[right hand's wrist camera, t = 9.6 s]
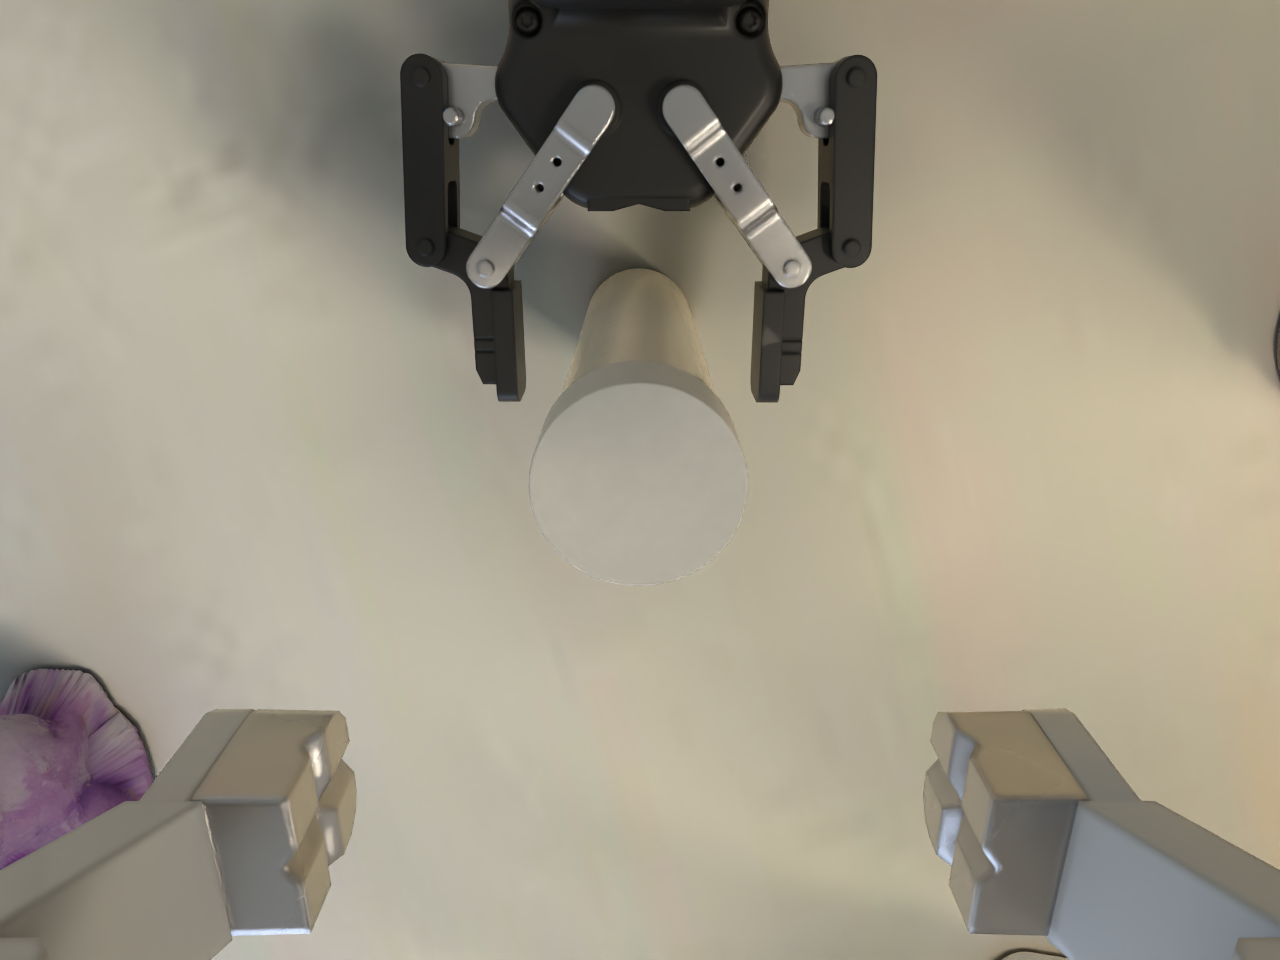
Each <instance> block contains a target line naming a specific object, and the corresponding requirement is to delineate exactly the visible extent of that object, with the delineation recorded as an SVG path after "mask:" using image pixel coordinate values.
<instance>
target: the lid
mask: <svg viewBox="0 0 1280 960" xmlns="http://www.w3.org/2000/svg"><path fill="white" fill-rule="evenodd" d="M529 494H530V501H531V505H532V510H533V513H534V516H535V518H536V521H537V524H538V526H539V527H540V529H541V531H542V533H543V535H544V536H545V538H546V539H547V540H548V542H549V543H550V545H551V546H552V547H553V548H554V549H555V550H556V551H557V552H558V553H559V554H560V556H562V557H563V558H564V559H565V560H566V561H568V562H569V563H570V564H571V565H573V566H574V567H576V568H578V569H579V570H581V571H582V572H584V573H586V574H588V575H591V576H593V577H595V578H598V579H601V580H604V581H607V582H610V583H615V584H620V585H629V586H650V585H656V584H663V583H666V582H670V581H674V580H677V579H679V578H682V577H684V576H687V575H689V574H691V573H693V572H695V571H696V570H698V569H700V568H701V567H703V566H704V565H706V564H707V563H708V562H710V561H711V560H712V559H713V558H714V557H715V556H716V555H718V554H719V553H720V552H721V551H722V549H723V548H724V547H725V546H726V545H727V543H728V542H729V541H730V539H731V538H732V536H733V535H734V533H735V532H736V530H737V528H738V526H739V523H740V521H741V519H742V517H743V513H744V510H745V507H746V502H747V495H748V473H747V465H746V461H745V458H744V454H743V451H742V448H741V445H740V442H739V439H738V436H737V433H736V430H735V427H734V424H733V422H732V419H731V417H730V415H729V413H728V411H727V409H726V408H725V406H724V405H723V403H722V402H721V400H720V399H719V398H718V397H717V395H716V394H715V393H714V392H713V391H712V390H711V389H710V388H709V387H708V386H707V385H706V384H705V383H703V382H702V381H700V380H699V379H698V378H696V377H695V376H693V375H691V374H689V373H688V372H686V371H684V370H682V369H679V368H677V367H674V366H671V365H668V364H664V363H659V362H654V361H644V360H636V361H624V362H617V363H613V364H610V365H606V366H603V367H600V368H598V369H596V370H594V371H591V372H589V373H588V374H586V375H584V376H583V377H581V378H579V379H578V380H577V381H575V382H574V383H573V384H572V385H570V386H569V387H568V388H567V389H566V390H565V391H564V392H563V393H562V394H561V395H560V397H559V398H558V399H557V401H556V402H555V403H554V405H553V406H552V408H551V410H550V411H549V413H548V415H547V417H546V419H545V422H544V425H543V428H542V430H541V433H540V436H539V439H538V442H537V446H536V449H535V452H534V455H533V458H532V462H531V467H530V472H529Z"/></svg>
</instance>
